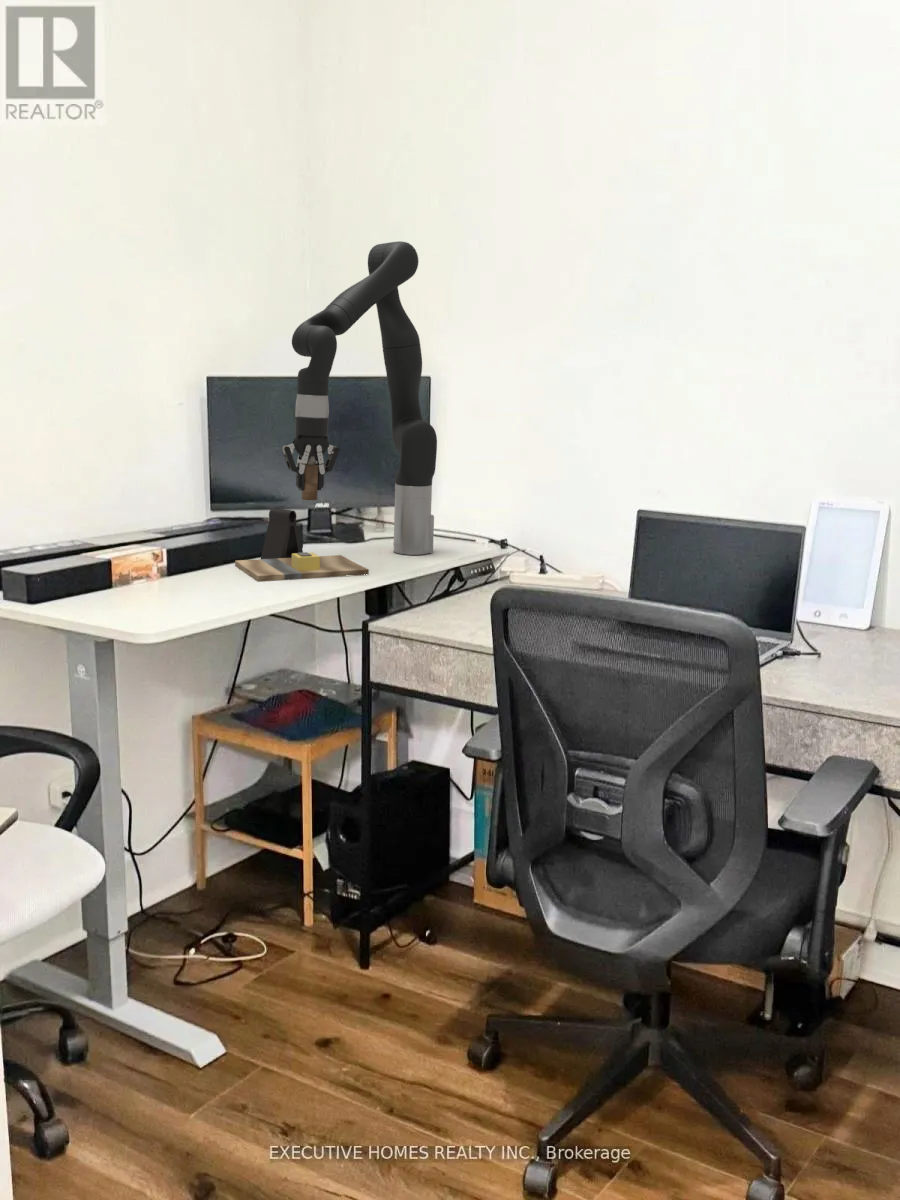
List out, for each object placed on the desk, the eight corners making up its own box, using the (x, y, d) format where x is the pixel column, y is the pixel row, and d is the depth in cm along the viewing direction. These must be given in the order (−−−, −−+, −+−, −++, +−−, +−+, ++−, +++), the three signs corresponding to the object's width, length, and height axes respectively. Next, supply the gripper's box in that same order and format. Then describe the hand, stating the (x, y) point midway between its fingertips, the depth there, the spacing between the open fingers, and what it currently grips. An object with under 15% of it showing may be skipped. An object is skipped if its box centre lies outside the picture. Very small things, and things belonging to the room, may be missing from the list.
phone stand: (279, 563, 275) (280, 512, 272) (260, 560, 278) (260, 510, 275) (304, 558, 282) (304, 508, 280) (284, 554, 286) (285, 506, 283)
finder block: (312, 565, 268) (312, 551, 267) (319, 569, 263) (319, 555, 263) (291, 566, 266) (291, 552, 265) (298, 570, 261) (298, 556, 261)
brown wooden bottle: (314, 498, 272) (315, 455, 270) (319, 500, 269) (321, 456, 267) (299, 498, 271) (300, 454, 269) (304, 500, 268) (306, 456, 266)
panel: (340, 560, 282) (340, 555, 281) (368, 574, 266) (368, 569, 266) (235, 565, 270) (235, 560, 270) (257, 581, 255) (257, 575, 254)
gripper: (335, 414, 272) (332, 487, 276) (277, 412, 266) (275, 487, 270) (346, 417, 266) (344, 492, 269) (287, 415, 260) (285, 492, 263)
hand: (309, 489), depth 270 cm, fingers closed on brown wooden bottle, 3 cm apart
